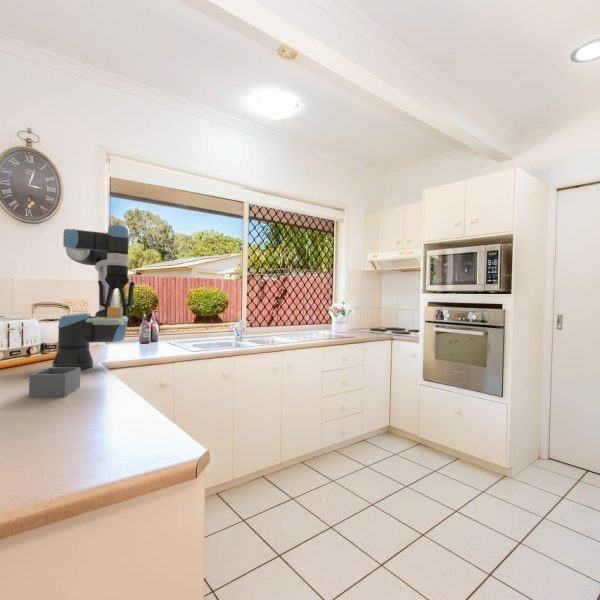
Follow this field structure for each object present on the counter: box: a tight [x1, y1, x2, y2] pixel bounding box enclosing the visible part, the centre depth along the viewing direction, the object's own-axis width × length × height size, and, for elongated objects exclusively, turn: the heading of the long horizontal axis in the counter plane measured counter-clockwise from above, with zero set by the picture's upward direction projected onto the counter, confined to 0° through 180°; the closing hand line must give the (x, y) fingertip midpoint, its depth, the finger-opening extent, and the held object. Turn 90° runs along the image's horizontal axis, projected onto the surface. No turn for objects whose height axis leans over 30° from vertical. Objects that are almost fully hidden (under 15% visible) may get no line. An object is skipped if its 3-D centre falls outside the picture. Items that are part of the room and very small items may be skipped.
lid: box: [86, 306, 129, 325], centre depth 138 cm, size 18×11×6 cm, turn 11°
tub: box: [28, 366, 82, 398], centre depth 120 cm, size 12×10×7 cm
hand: (115, 324), depth 145 cm, fingers closed on lid, 4 cm apart
